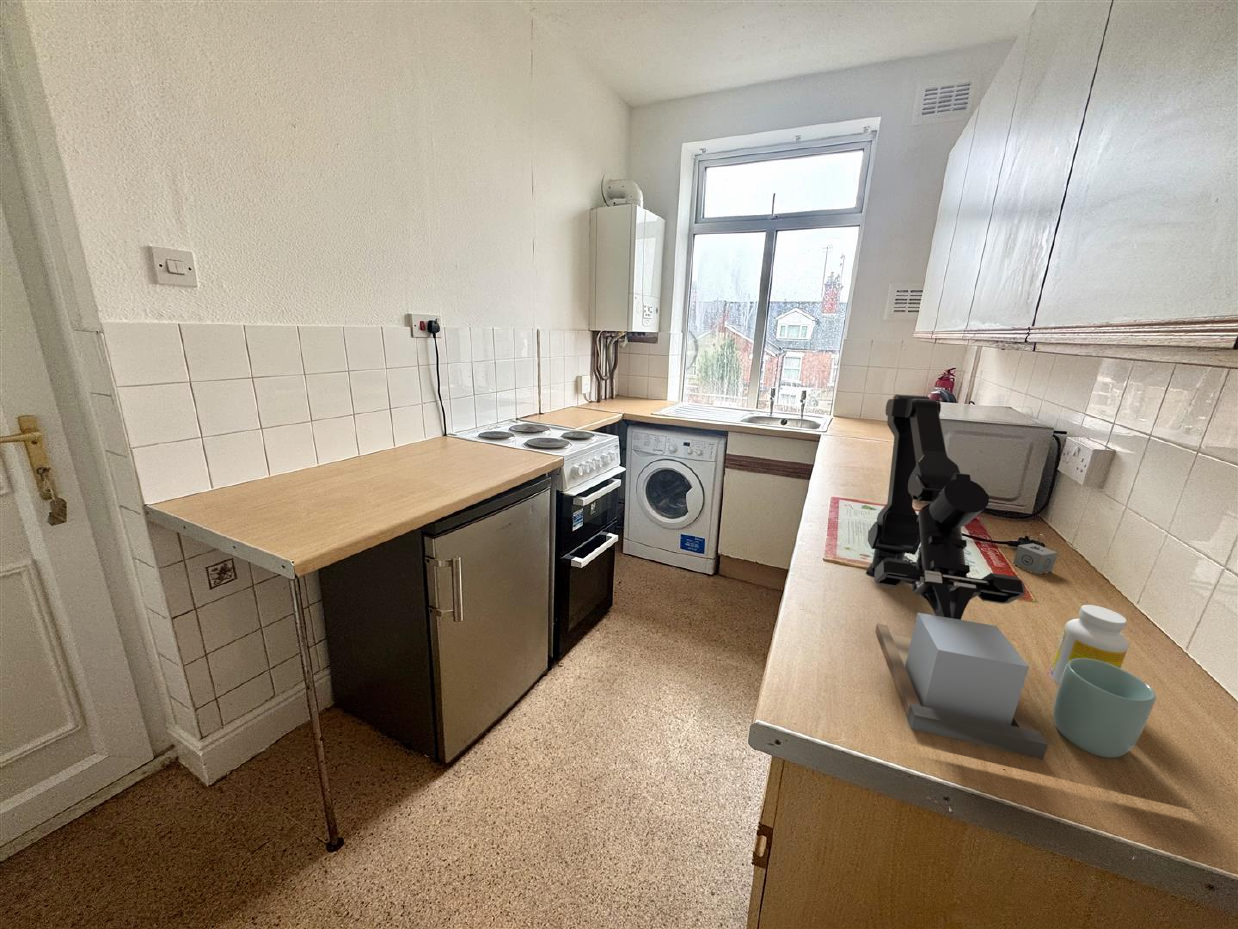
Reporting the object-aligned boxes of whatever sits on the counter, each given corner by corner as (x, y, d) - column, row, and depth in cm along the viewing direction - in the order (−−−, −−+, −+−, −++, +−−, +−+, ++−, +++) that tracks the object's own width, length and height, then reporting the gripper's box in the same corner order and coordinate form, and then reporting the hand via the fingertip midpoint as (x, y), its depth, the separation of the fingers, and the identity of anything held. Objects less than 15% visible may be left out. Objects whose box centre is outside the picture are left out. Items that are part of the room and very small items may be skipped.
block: (904, 669, 73) (917, 612, 70) (979, 684, 70) (996, 625, 67) (922, 712, 64) (938, 649, 62) (1008, 731, 62) (1029, 666, 59)
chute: (874, 635, 82) (877, 620, 81) (970, 653, 78) (974, 637, 77) (909, 733, 62) (914, 714, 61) (1041, 764, 58) (1048, 744, 57)
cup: (1146, 765, 58) (1174, 698, 56) (1094, 773, 57) (1121, 704, 54) (1078, 716, 66) (1100, 655, 63) (1031, 722, 64) (1051, 659, 62)
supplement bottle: (1121, 709, 67) (1151, 630, 64) (1067, 700, 69) (1094, 623, 65) (1086, 677, 74) (1112, 604, 70) (1038, 670, 75) (1061, 598, 71)
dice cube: (1027, 562, 112) (1033, 543, 111) (1051, 572, 107) (1057, 552, 106) (1012, 565, 111) (1018, 545, 109) (1036, 575, 106) (1042, 555, 105)
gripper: (983, 564, 81) (996, 659, 74) (865, 547, 86) (866, 634, 79) (1018, 540, 72) (1037, 646, 65) (883, 522, 77) (886, 619, 70)
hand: (950, 636), depth 70 cm, fingers closed
